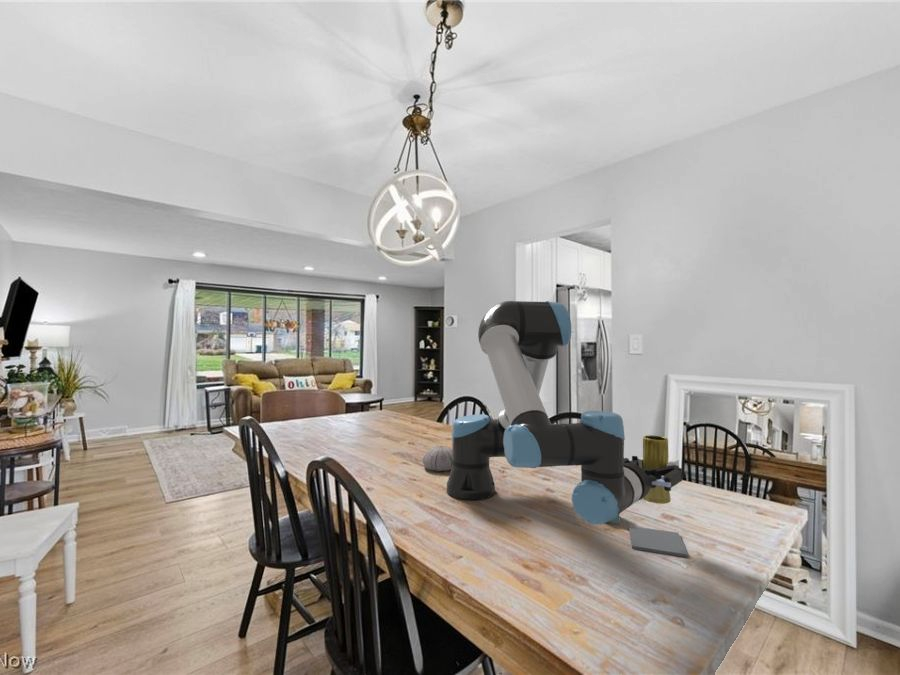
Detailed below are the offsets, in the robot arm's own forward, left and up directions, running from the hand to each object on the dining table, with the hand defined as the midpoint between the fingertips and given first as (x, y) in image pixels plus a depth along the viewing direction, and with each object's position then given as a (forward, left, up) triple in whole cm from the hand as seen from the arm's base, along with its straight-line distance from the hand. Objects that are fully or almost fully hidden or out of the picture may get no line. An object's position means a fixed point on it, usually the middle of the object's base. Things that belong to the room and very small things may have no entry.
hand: (663, 462), depth 99 cm
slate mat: (+1, -5, -17) cm, 18 cm away
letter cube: (-13, -3, -18) cm, 22 cm away
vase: (+1, -5, -8) cm, 9 cm away
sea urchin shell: (-76, -15, -18) cm, 79 cm away
